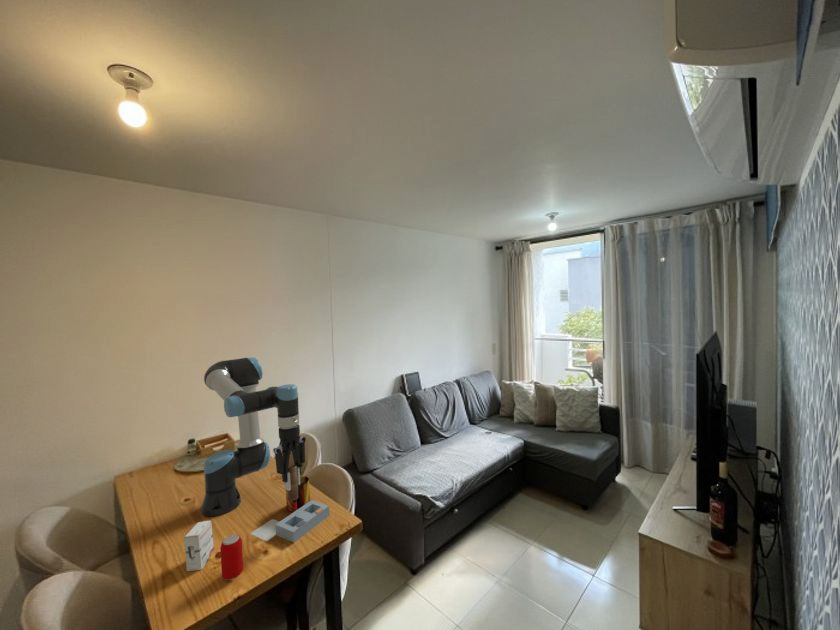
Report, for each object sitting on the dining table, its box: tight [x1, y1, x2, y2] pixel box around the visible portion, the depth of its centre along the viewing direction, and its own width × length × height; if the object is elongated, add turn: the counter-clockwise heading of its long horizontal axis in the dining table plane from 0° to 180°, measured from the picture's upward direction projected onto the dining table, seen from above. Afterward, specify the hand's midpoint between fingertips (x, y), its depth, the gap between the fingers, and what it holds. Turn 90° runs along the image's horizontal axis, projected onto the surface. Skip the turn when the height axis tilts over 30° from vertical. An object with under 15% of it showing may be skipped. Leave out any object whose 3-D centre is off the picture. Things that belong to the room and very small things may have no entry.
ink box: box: [183, 520, 215, 572], centre depth 116 cm, size 9×5×12 cm, turn 5°
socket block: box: [275, 499, 330, 544], centre depth 133 cm, size 10×18×5 cm, turn 151°
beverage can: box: [219, 534, 244, 581], centre depth 110 cm, size 6×6×12 cm
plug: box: [287, 464, 298, 501], centre depth 128 cm, size 4×4×12 cm
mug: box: [285, 475, 311, 514], centre depth 144 cm, size 10×14×12 cm
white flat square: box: [249, 518, 280, 542], centre depth 131 cm, size 10×10×1 cm
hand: (292, 486), depth 128 cm, fingers closed on plug, 4 cm apart
